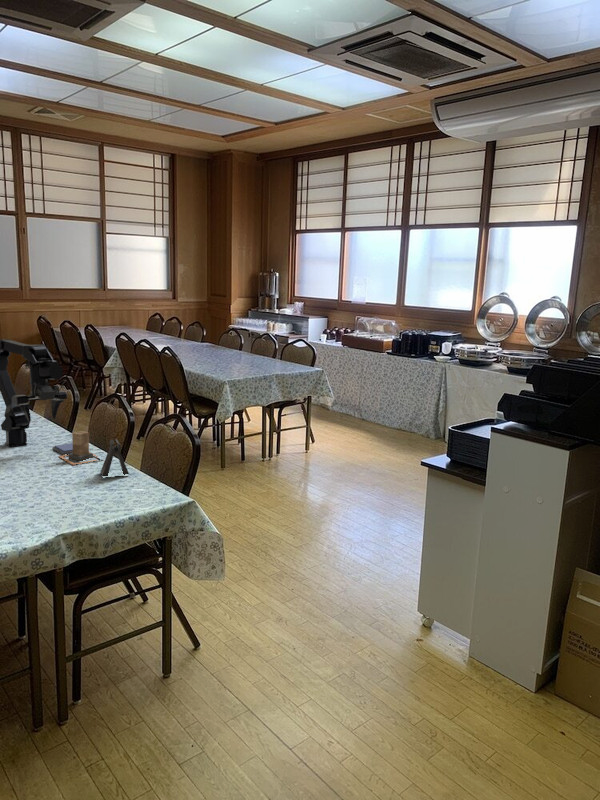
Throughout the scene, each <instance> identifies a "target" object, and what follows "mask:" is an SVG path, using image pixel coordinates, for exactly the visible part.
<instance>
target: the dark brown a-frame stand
mask: <svg viewBox="0 0 600 800" xmlns="http://www.w3.org/2000/svg"><path fill="white" fill-rule="evenodd" d="M114 440H115V442H116V445H115V442H114ZM108 443H109V449H108V451H107V453H106V456H105V459H104V461H103V464H102V467H101V470H100V475H101V474H102V476H108V473H109V471H111V470H110V469H111V465H112V463H113V459H114V455H115V454H116V455H117V457H118V462H119V465H120V467H121V470H122V471H123V474H124V475H125V474H129V475H130V472H129V470H128V467H127V465H126V463H125V460H124V458H123V455H122V453H121V444H120V442H119V440H118V439H117V438H115V439H113V438H111V439H110V440H109V442H108ZM114 445H115V446H114ZM102 476H101V477H102Z"/></svg>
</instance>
